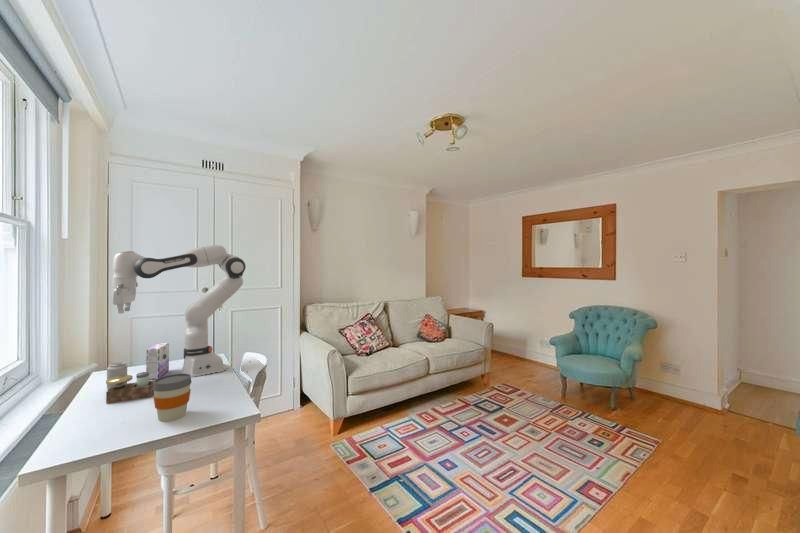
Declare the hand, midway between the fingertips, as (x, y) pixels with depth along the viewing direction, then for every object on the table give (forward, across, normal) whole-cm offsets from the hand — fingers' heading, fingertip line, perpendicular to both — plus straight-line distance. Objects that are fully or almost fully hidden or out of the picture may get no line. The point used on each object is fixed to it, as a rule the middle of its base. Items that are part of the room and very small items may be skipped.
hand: (124, 312), depth 155 cm
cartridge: (+37, -15, -11) cm, 42 cm away
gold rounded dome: (+34, -15, -3) cm, 38 cm away
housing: (+37, -15, -7) cm, 41 cm away
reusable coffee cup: (+37, -47, -27) cm, 66 cm away
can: (+37, +2, +3) cm, 38 cm away
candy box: (+37, +15, -11) cm, 42 cm away
